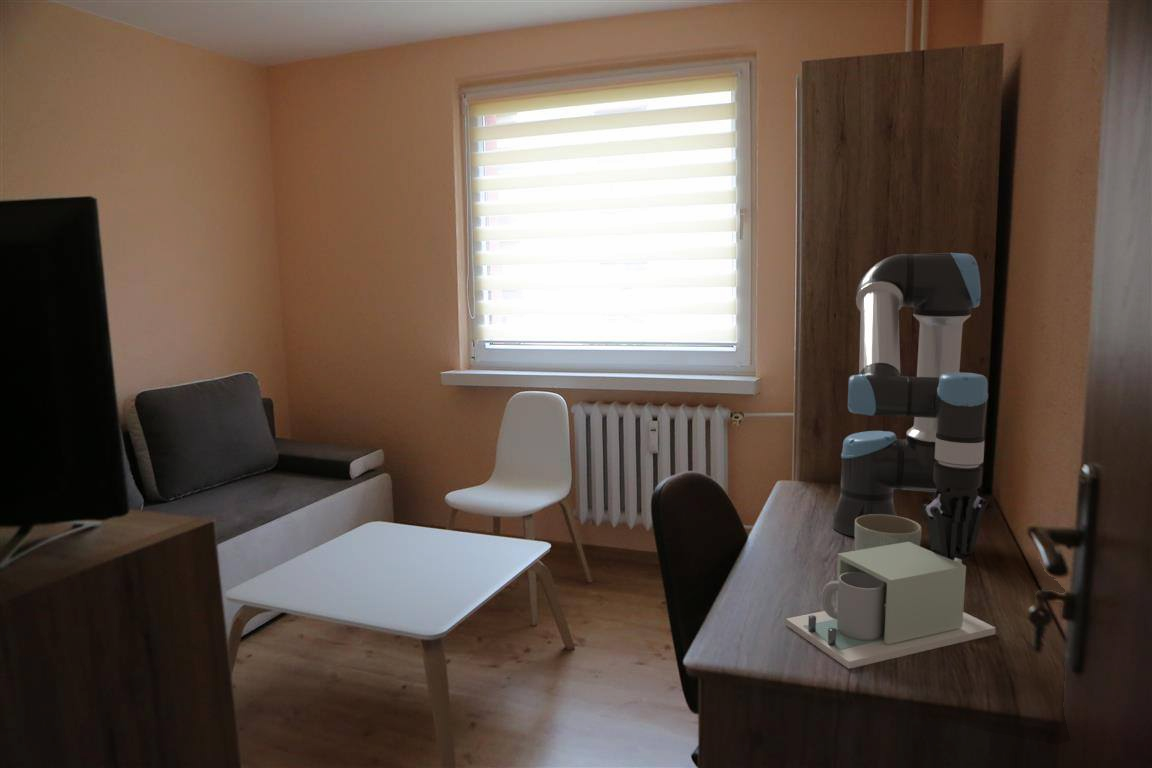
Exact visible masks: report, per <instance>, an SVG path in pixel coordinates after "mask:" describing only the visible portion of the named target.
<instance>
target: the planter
mask: <svg viewBox="0 0 1152 768" xmlns="http://www.w3.org/2000/svg"><path fill="white" fill-rule="evenodd" d="M921 539H922V526H921V524H920V523H919V522H916V521H915V520H913V519H910V518H906V517H903V516H898V515H897V516H893V515H884V514H870V515H863V516H860V517H858V518H856V519H855V537H854V549H855V550H854V551H856V550H862V549H868V548H874V547H880V546H886V545H892V544H897V543H903V542H911V543H913V544H915V545H918V546H920V547H921Z"/></svg>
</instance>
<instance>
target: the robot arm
mask: <svg viewBox="0 0 1152 768" xmlns="http://www.w3.org/2000/svg"><path fill="white" fill-rule="evenodd" d="M856 289H857V290H856V293H855V294H856V295H855V303H856V307H857V309H858V311H859V312H860V321H859V322H860V326H859V359H858V361H859V362H858V364H859V366H858V374H852V375H850V376H849V377H848V388H847V389H848V390H847V391H848V392H847V393H848V394H847V410H848V411H849V412H850V413H852V414H857V415H863V416H864V415H865V416H871V417H872V416H881V417H882V416H885V417H886V416H887V417H909V418H914V419H913V426H911V428H908V429H907V431H906V434H905V438H904V439H900V438H898V437H897V435H896V433H894V432H893V431H889V430H888V431H884V430H870V431H868V430H867V431H861V432H855V433H852V434H849V435H848V436H846V437H845V438H844V440H843V442H842V451H841V455H840V457H841V476H840V478H841V479H840V494H839V499H838V501H837V504H836V507H835V510H834V512H833V514H832V517H831V528H832V529H833V530H835V531H836V532H838V533H840V534H842V535H846V536H848V537H849V536H850V537H854V538H855V519H856V518H858V517H860V516H863V515H870V514H884V515H893V516H898V515H897V510H896V508H895V503H894V490H903V491H904V490H905V491H916V492H917V491H918V492H929V493H934V494H933V500H932V502H930V503H929V504H928V503H924V504H922V507H921V508H922V511H923V513H924V514H925V517H926V523H927V531H928V538H929V545H930V551H932V552H934V553H937V554H939V555H941V556H944V557H946V558H949V559H951V560H953V561H956V562H958V563H960V564H963V565H964V560H966V561H969V560H970V557H971V556H970V555H968V554H973V553H974V551H975V547H976V543H977V539H978V536H979V531H980V528H981V523H982V519H983V516H984V513H985V510H986V509H987V506H988V505H989V500H988V499H985V498H982V497H980V496H979V491H978V489H979V488H980V487H981V486H982V484H983V483H982V480H983V467H982V466H981V465H982V464H983V463H984V458H985V457H984V456H985V455H984V454H985V428H986V417H987V404H988V399H989V393H988V378H987V377H986V376H984V374H979V373H974V372H960V369H961V367H960V366H961V355H962V353H961V351H962V339H963V338H962V337H963V325H964V322H965V321H967V319H969V318H971V316H972V308H973V309H976V308H978V307H979V306H980V305H981V304H980V303H981V294H982V289H981V278H980V271H979V265H978V263H977V260H976V258H975V257H974V256H973V255H971V254H969V253H962V252H961V253H957V252H945V253H943V252H942V253H940V252H939V253H912V254H911V253H909V254H907V253H901V254H899V253H898V254H895V255H892V256H889V257H886V258H884V259H882V260H880V261H879V262H877V263H876V264H874V266H872V267H871V268H870V269H869V270H868V271H866V273H864V275H863V277H862V278H861V280H860V282H859V284H858V286H857V288H856ZM902 307H905V308H907V307H908V308H909V307H910V308H913V309H912V312H913V313H912V315H913V317H914V318H915V319H916V320H917V321H918V322H919V333H918V351H917V367H916V376H908V375H907V376H906V375H901V355H900V354H901V350H900V349H901V348H900V345H901V344H900V316H899V315H900V314H899V311H900V310H901V309H902Z"/></svg>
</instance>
